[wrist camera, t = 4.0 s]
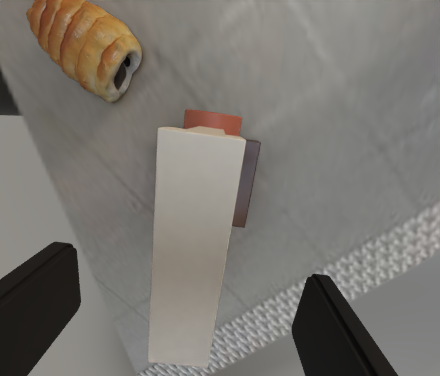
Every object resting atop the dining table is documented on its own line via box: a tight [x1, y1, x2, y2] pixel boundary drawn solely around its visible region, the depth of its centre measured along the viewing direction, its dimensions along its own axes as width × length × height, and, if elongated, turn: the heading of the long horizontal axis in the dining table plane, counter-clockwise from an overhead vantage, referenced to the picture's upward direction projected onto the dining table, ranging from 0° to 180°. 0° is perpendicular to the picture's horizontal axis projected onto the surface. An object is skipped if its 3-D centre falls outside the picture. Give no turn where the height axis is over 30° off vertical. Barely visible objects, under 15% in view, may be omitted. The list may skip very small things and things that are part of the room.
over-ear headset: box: [148, 109, 246, 368], centre depth 15 cm, size 4×14×12 cm, turn 172°
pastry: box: [26, 0, 142, 102], centre depth 18 cm, size 9×7×4 cm
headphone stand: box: [232, 140, 261, 228], centre depth 17 cm, size 10×10×14 cm
